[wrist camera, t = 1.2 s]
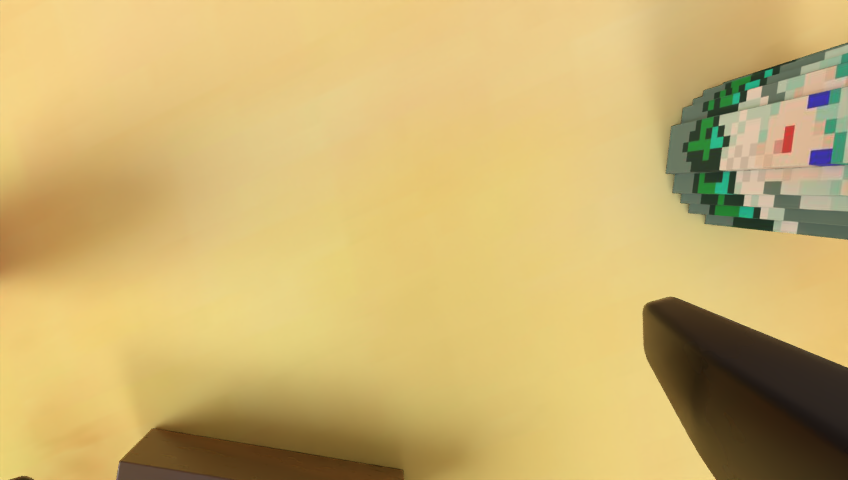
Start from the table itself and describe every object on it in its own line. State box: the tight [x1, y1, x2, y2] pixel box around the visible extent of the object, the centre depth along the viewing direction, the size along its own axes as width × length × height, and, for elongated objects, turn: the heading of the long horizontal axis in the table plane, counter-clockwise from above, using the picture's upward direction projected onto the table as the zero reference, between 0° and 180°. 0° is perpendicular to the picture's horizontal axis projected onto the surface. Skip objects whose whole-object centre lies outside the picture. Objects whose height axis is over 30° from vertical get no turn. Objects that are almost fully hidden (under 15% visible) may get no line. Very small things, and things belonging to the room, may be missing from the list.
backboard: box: [116, 428, 404, 480], centre depth 23 cm, size 1×11×3 cm, turn 79°
